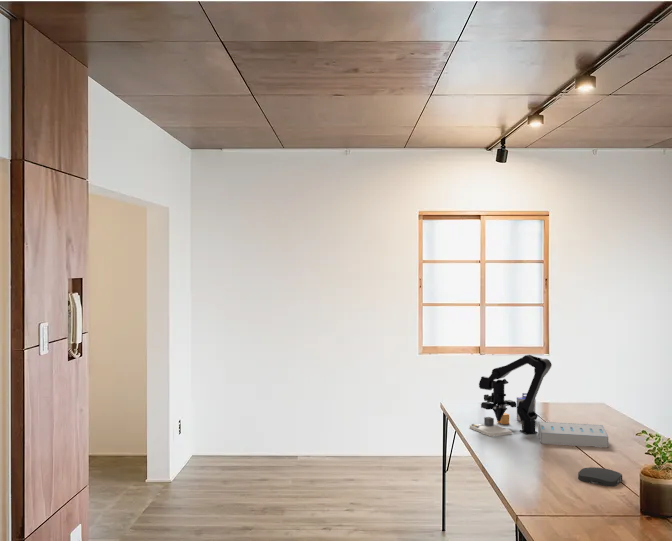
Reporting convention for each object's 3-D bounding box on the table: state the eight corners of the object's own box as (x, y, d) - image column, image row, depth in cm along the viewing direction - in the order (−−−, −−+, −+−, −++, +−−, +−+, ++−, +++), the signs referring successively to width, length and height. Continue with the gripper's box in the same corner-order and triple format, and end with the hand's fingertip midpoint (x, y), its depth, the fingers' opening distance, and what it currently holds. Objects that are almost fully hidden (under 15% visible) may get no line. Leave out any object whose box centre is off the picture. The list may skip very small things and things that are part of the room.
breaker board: (512, 434, 320) (512, 429, 320) (490, 436, 315) (490, 432, 315) (490, 425, 337) (490, 421, 337) (469, 427, 332) (469, 423, 332)
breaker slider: (493, 425, 331) (493, 418, 331) (488, 425, 330) (488, 418, 330) (489, 423, 335) (489, 416, 335) (484, 423, 334) (484, 417, 334)
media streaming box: (587, 471, 262) (587, 464, 262) (624, 479, 253) (624, 471, 253) (575, 480, 251) (575, 473, 251) (614, 488, 242) (614, 481, 242)
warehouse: (541, 444, 303) (541, 428, 303) (538, 436, 317) (538, 421, 317) (608, 448, 296) (608, 432, 296) (602, 440, 310) (602, 425, 310)
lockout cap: (509, 423, 342) (509, 414, 342) (502, 424, 340) (502, 415, 340) (504, 421, 346) (504, 412, 346) (497, 422, 345) (497, 413, 345)
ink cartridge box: (534, 419, 352) (534, 393, 352) (536, 421, 347) (536, 395, 347) (516, 418, 354) (516, 392, 354) (517, 420, 348) (517, 394, 348)
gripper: (504, 387, 346) (503, 416, 346) (475, 389, 339) (474, 419, 339) (517, 391, 336) (516, 420, 336) (487, 393, 329) (487, 423, 329)
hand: (498, 421), depth 335 cm, fingers closed
